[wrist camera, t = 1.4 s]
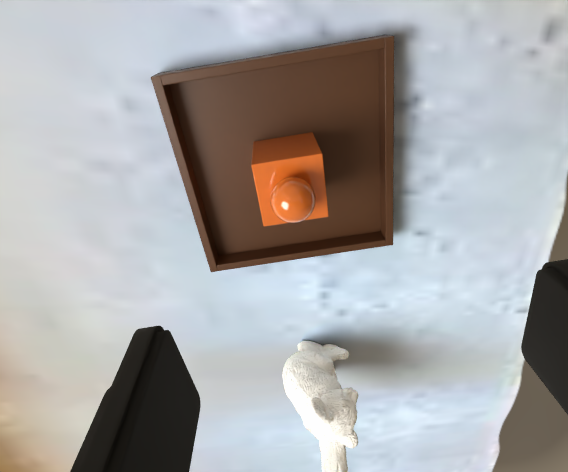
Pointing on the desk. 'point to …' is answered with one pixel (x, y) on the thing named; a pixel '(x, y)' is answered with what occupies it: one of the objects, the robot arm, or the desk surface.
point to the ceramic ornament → (289, 179)
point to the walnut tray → (280, 123)
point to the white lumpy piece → (322, 400)
